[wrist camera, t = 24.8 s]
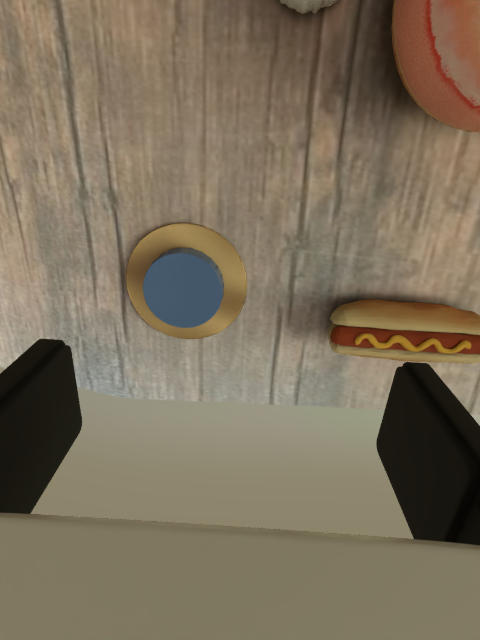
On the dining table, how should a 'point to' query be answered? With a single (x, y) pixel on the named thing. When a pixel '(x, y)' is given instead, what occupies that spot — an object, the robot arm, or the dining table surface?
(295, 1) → the garlic
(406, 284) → the dining table surface
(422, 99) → the vase
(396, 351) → the food
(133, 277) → the coaster
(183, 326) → the lid
